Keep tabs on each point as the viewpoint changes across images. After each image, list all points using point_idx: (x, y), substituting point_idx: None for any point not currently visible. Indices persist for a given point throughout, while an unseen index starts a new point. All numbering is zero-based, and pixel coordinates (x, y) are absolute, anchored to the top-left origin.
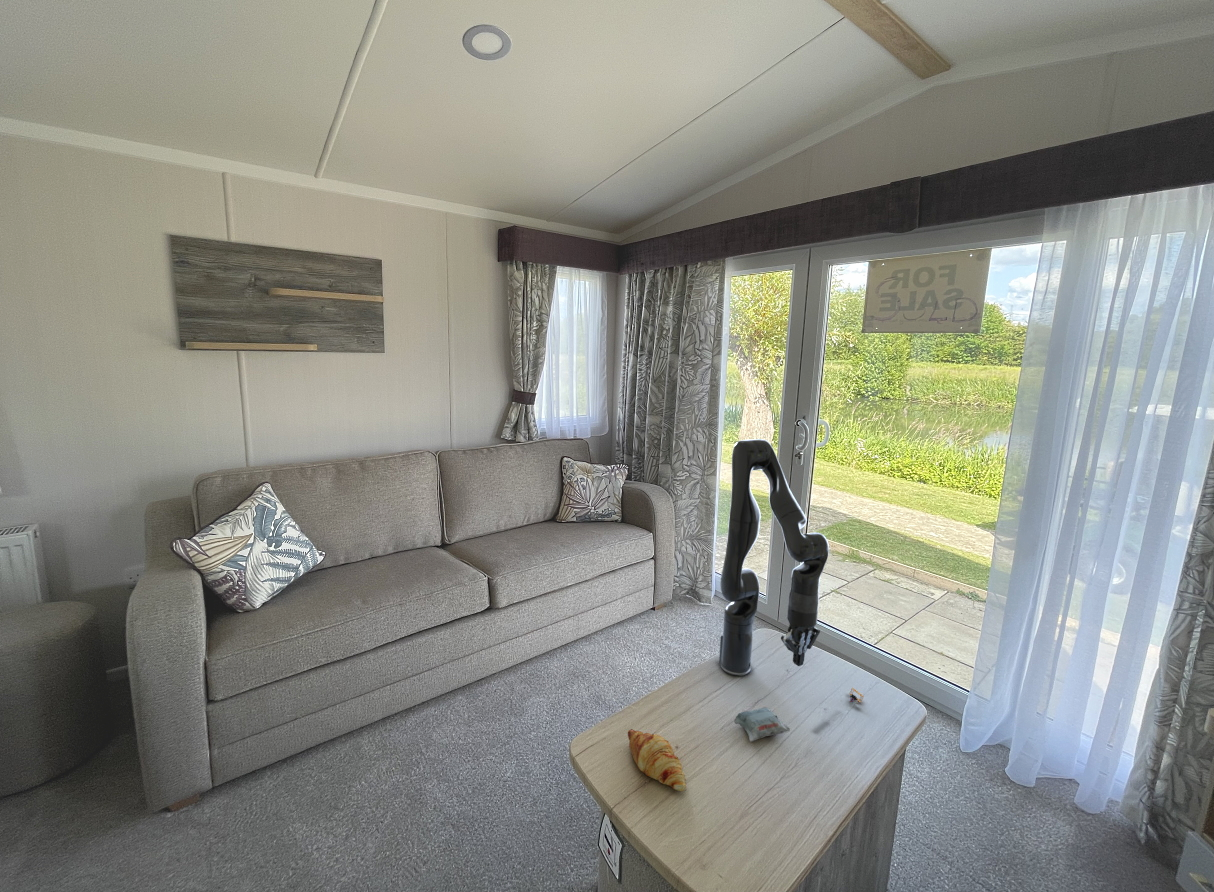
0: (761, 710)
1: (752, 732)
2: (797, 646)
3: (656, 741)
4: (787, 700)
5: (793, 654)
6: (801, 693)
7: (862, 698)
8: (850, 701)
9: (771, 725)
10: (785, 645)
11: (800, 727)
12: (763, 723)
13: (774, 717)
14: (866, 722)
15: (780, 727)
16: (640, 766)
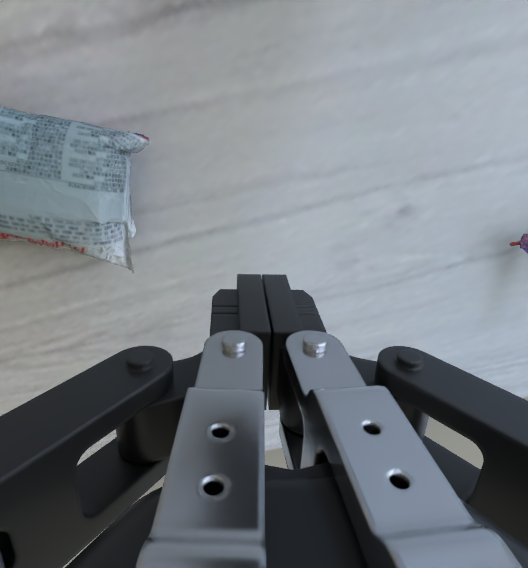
0: (47, 164)
1: None
2: (288, 365)
3: None
4: (319, 86)
5: (210, 332)
6: (419, 84)
7: None
8: (517, 243)
9: (49, 244)
10: (20, 414)
11: (227, 237)
12: (7, 229)
13: (83, 227)
14: (452, 325)
15: (94, 257)
16: None
